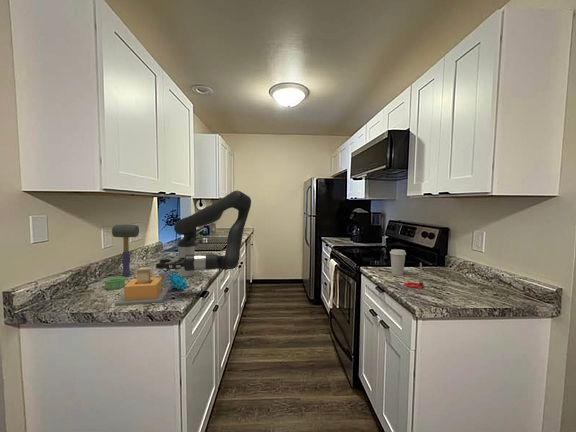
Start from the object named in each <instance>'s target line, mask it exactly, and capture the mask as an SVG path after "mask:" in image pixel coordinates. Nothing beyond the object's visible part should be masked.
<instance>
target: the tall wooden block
mask: <svg viewBox="0 0 576 432" xmlns="http://www.w3.org/2000/svg"><path fill="white" fill-rule="evenodd" d="M151 270H152V268H151V267H139V268H138V269H137V270H136V279H137V284H150V283H151V278H152V277H151V276H152V274H151V273H152V271H151Z"/></svg>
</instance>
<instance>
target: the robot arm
mask: <svg viewBox="0 0 576 432" xmlns="http://www.w3.org/2000/svg"><path fill="white" fill-rule="evenodd" d="M251 206H252V199H251V197H250V196H249V195H247V194H245V193H244V192H242V191H240V190H234V191H231V192H230V193H228V194H227V195H225V196H224V197H223V198H220V199H218V201H216V202H214V203H212V204H209V205H208V206H207V205H206V207H203V208H202V209H200V210H198V211H196V212H195V213H193V214H191V215H188V216H186V217H184V218H181V219H179V220H177V221H176V222H175V223H174V226H173V227H174V228H173V230H174V232H175V233H176V234H177V235H180V236H183V237H182V239H180V240H179V241H178V243H177V257H171V258H167V259H166V258H165V259H164V258H163V259H160V260H159V261H160V262H158V263H155V269H156V270H157V269H166V270H167V271H169V270H177V272H178V273H177V274H179V275H178V277H180V276H182V278H183V277H184V278H187V277H191V276H194V275H195V271H205V270H234V269H236V268H237V267H238V265H239V262H240V255H241V247H242V242H243V234H244V229H245V226H246V224H247V223H246V222H247V219H248V215H249V213H250V209H251ZM231 208H232V209H235V210H237V218H236V220H235V222H234V223H233V224H232V225H231V227H230V228H229V230H228V235H227V241H226V248H225V254H224V255H219V254H215V253H214V254H204V253H203V254H202V253H200V254H198V253H197V254H196V253H195V249H196V247H195V245H196V244H195V243H196V241H197V228H199V227H203V226H208V225H210V224H212V223H215V222H217V221H218V220H220V219H221V217H222V216H223V213H224V212H225V211H226V210H228V209H231Z"/></svg>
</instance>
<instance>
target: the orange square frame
mask: <svg viewBox="0 0 576 432" xmlns="http://www.w3.org/2000/svg"><path fill="white" fill-rule="evenodd" d="M123 288H124V292H123V293H124V294H123V295H122V296H121V297H120V298H119V299H118V300H117V301H116V302H114V306H115V307H118V306H131V305H134V306H135V305H145V304H146V305H147V304H160V303H163V302H164V299H165V298H166V297H167V294H168V292H170V287H163V277H151V283H150V284H137V278H133V279H131V280H130V281H129V282H128V283H127V284H126V285H124V287H123Z"/></svg>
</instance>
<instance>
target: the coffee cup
mask: <svg viewBox="0 0 576 432" xmlns="http://www.w3.org/2000/svg"><path fill="white" fill-rule="evenodd" d="M389 254H390V264H391V274H392V275H393V276H404V269H405V261H406V255H407V252H406V250H404V249H397V248H394V249H391V250H390V251H389Z"/></svg>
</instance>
